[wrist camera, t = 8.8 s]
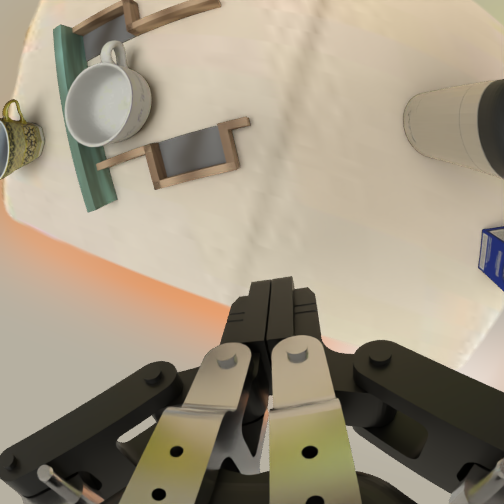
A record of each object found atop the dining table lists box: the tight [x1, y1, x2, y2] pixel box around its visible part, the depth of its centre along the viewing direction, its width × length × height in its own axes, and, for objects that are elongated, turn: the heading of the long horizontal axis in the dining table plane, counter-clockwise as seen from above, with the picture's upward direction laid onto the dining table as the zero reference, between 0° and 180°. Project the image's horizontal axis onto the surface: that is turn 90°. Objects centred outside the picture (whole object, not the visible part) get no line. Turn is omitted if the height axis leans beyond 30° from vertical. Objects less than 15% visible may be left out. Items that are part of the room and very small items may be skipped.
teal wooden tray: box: [53, 0, 250, 212], centre depth 31 cm, size 23×29×6 cm
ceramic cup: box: [0, 99, 45, 180], centre depth 33 cm, size 13×10×10 cm
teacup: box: [65, 40, 152, 147], centre depth 31 cm, size 14×11×8 cm
